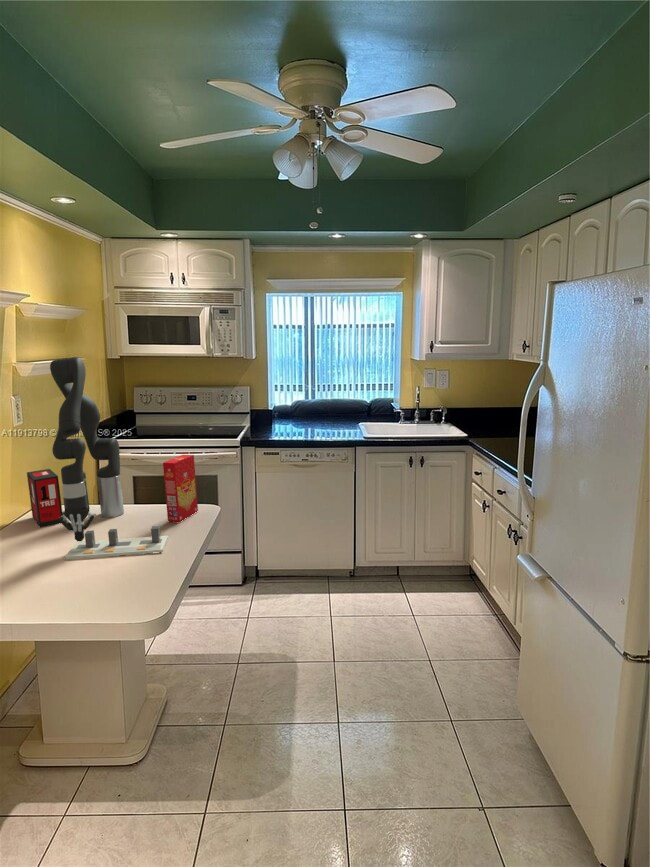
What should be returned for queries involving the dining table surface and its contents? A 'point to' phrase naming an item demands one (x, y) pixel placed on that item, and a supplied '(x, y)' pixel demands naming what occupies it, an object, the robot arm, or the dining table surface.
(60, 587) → the dining table surface
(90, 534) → the switch
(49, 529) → the dining table surface
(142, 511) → the dining table surface
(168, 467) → the food packaging
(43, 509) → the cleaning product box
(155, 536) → the switch
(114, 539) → the middle switch
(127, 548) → the switch panel
